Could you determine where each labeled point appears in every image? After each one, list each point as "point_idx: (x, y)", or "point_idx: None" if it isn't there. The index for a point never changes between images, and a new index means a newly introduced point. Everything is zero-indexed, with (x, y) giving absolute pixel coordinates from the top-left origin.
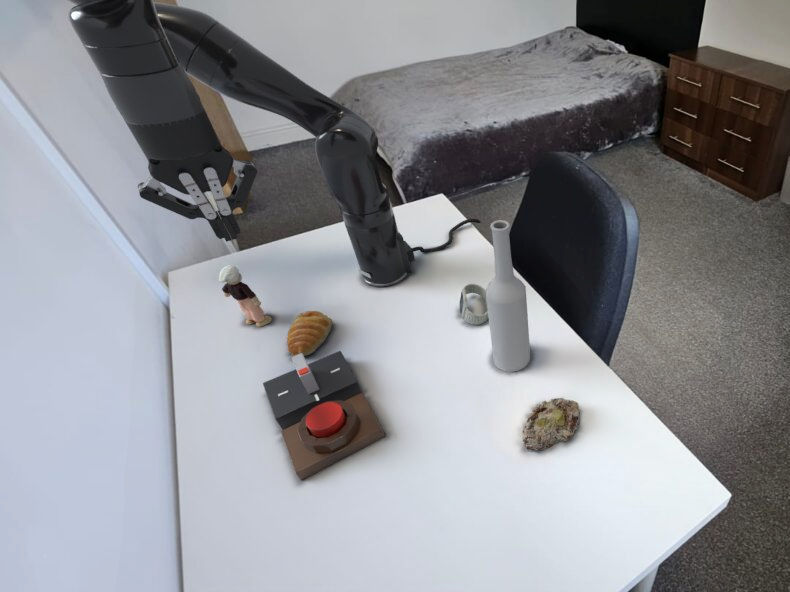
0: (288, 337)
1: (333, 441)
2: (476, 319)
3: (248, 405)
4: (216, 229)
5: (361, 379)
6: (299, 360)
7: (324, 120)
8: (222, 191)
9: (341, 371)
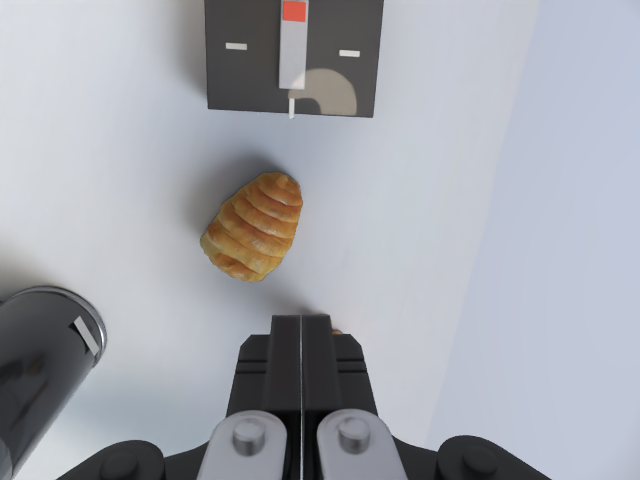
0: (291, 232)
1: None
2: None
3: (406, 113)
4: (349, 372)
5: (200, 28)
6: (291, 62)
7: None
8: None
9: (225, 35)
